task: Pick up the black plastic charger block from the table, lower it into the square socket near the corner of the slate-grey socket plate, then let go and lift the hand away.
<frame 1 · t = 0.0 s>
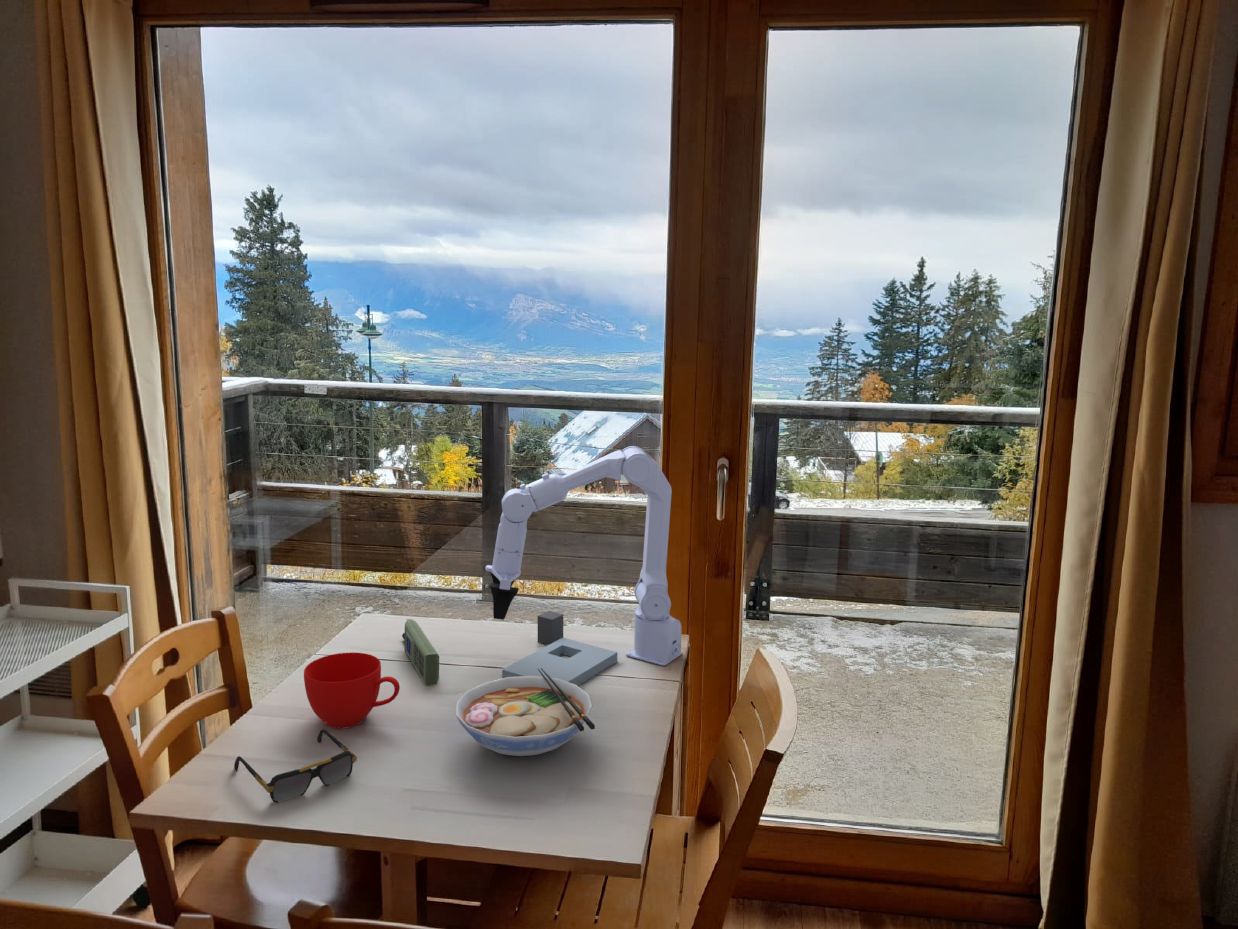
hand: (498, 612, 183), 11 cm above the table, tool pointing down, fingers open, 7 cm apart
socket plate: (561, 669, 181), on the table
sunglasses: (297, 776, 141), on the table
charger block: (550, 641, 196), on the table
handheld radio: (417, 663, 184), on the table
ceramic cup: (355, 722, 158), on the table
ramen bowl: (524, 746, 151), on the table
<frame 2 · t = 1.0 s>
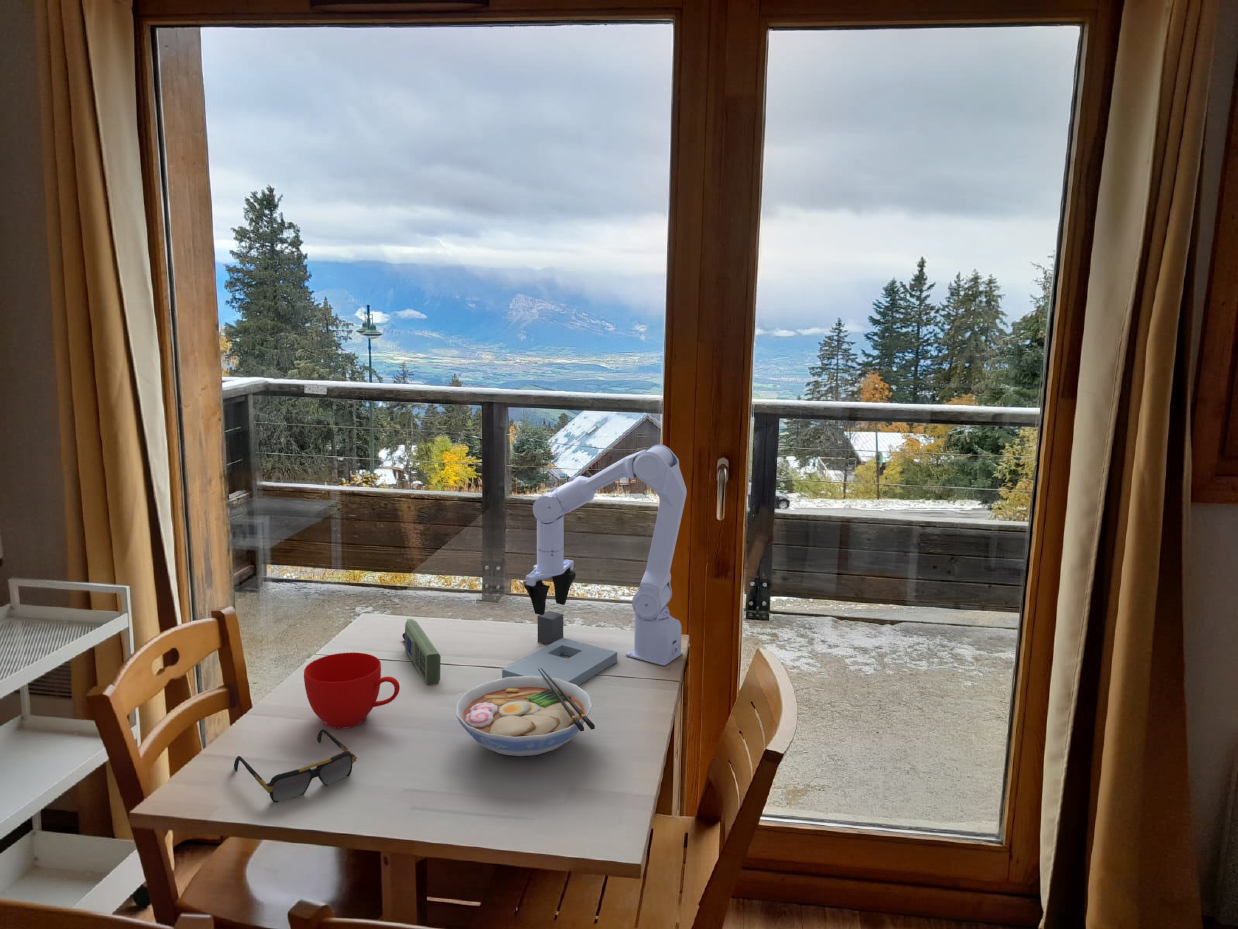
hand: (550, 608, 194), 7 cm above the table, tool pointing down, fingers open, 7 cm apart
nothing on the table moved.
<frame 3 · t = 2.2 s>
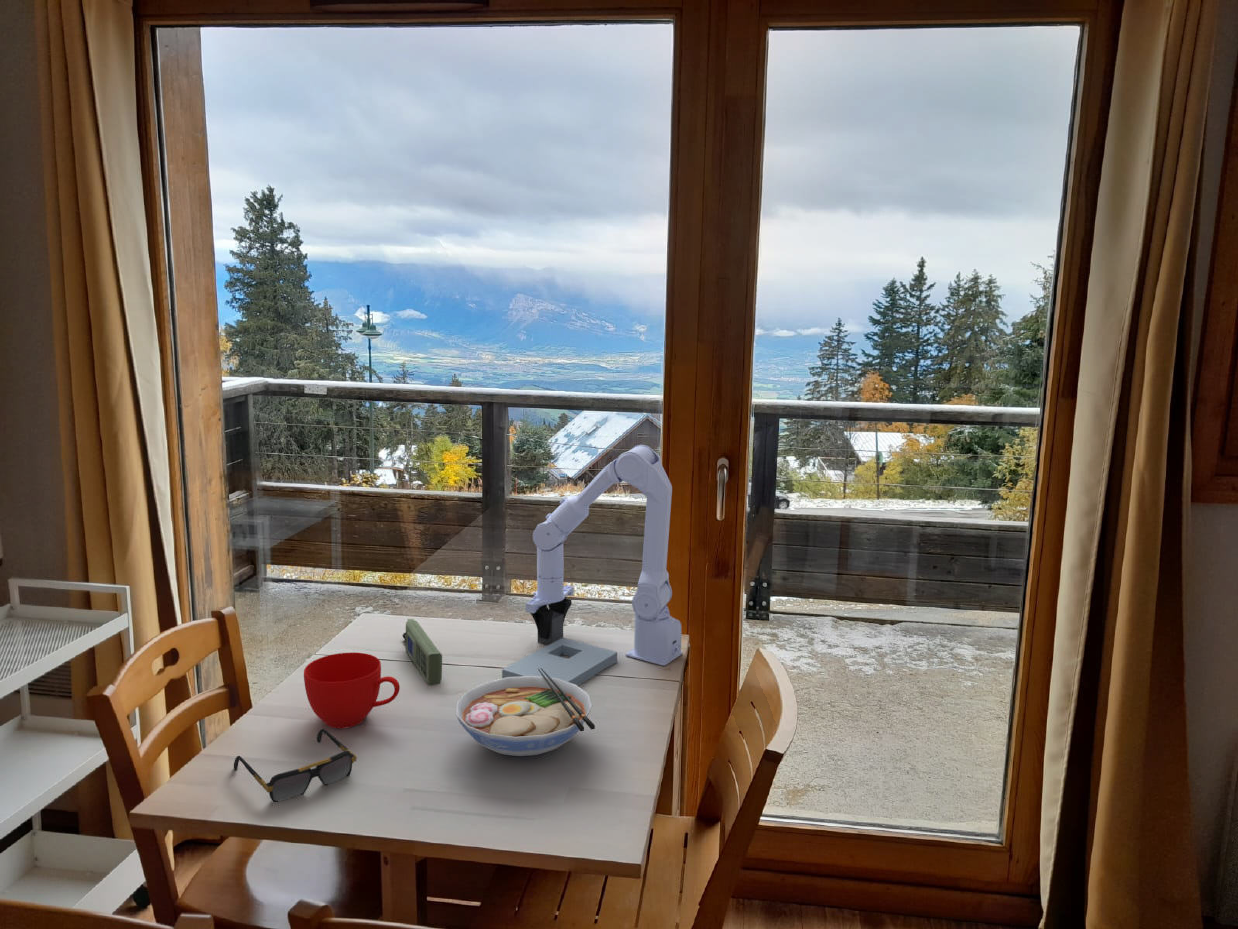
hand: (550, 634, 195), 1 cm above the table, tool pointing down, fingers closed on charger block, 4 cm apart
charger block: (550, 641, 196), on the table, touching gripper
everything else where it was.
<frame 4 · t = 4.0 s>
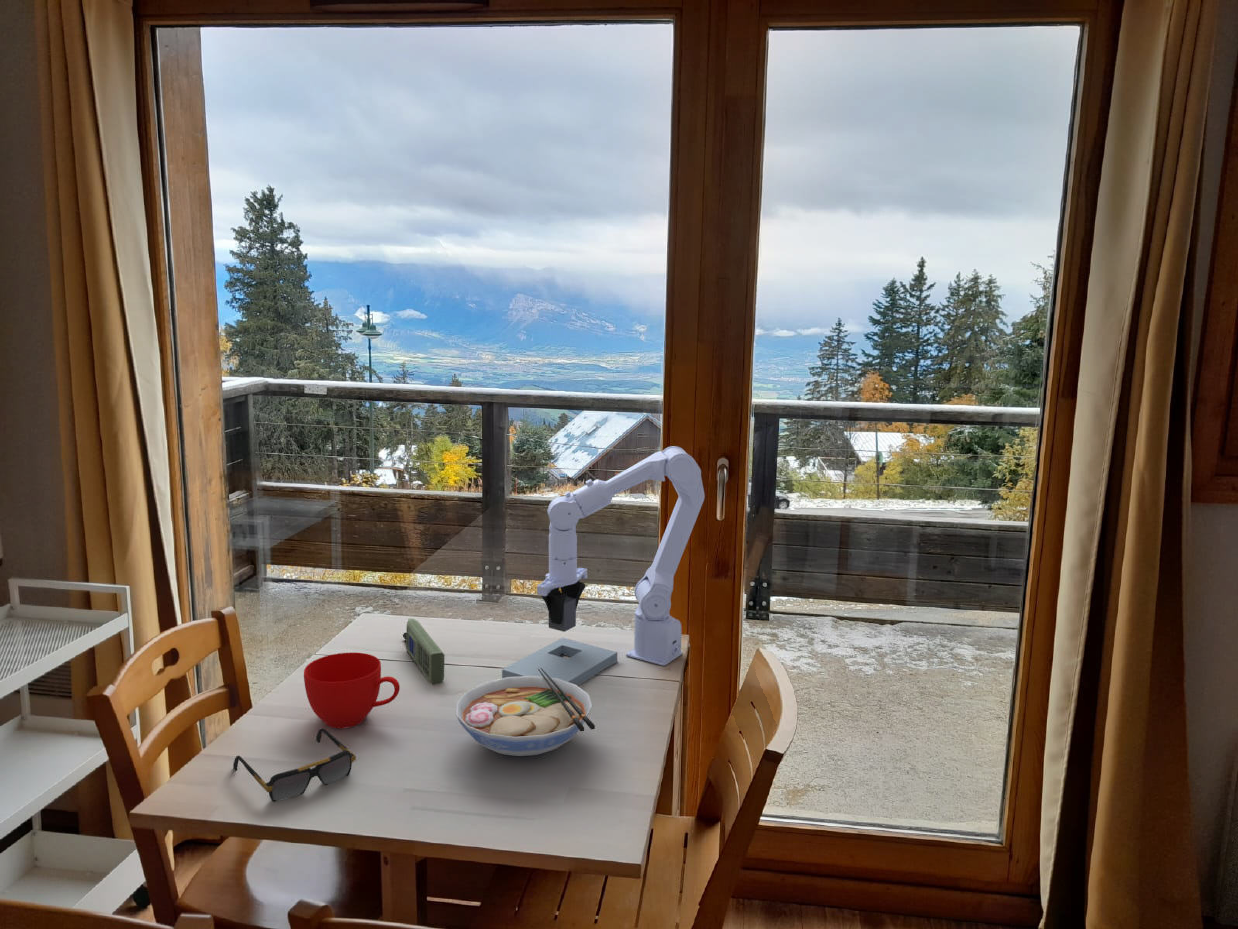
hand: (562, 619, 185), 8 cm above the table, tool pointing down, fingers closed on charger block, 4 cm apart
charger block: (562, 626, 185), point 7 cm above the table, touching gripper
everything else where it was.
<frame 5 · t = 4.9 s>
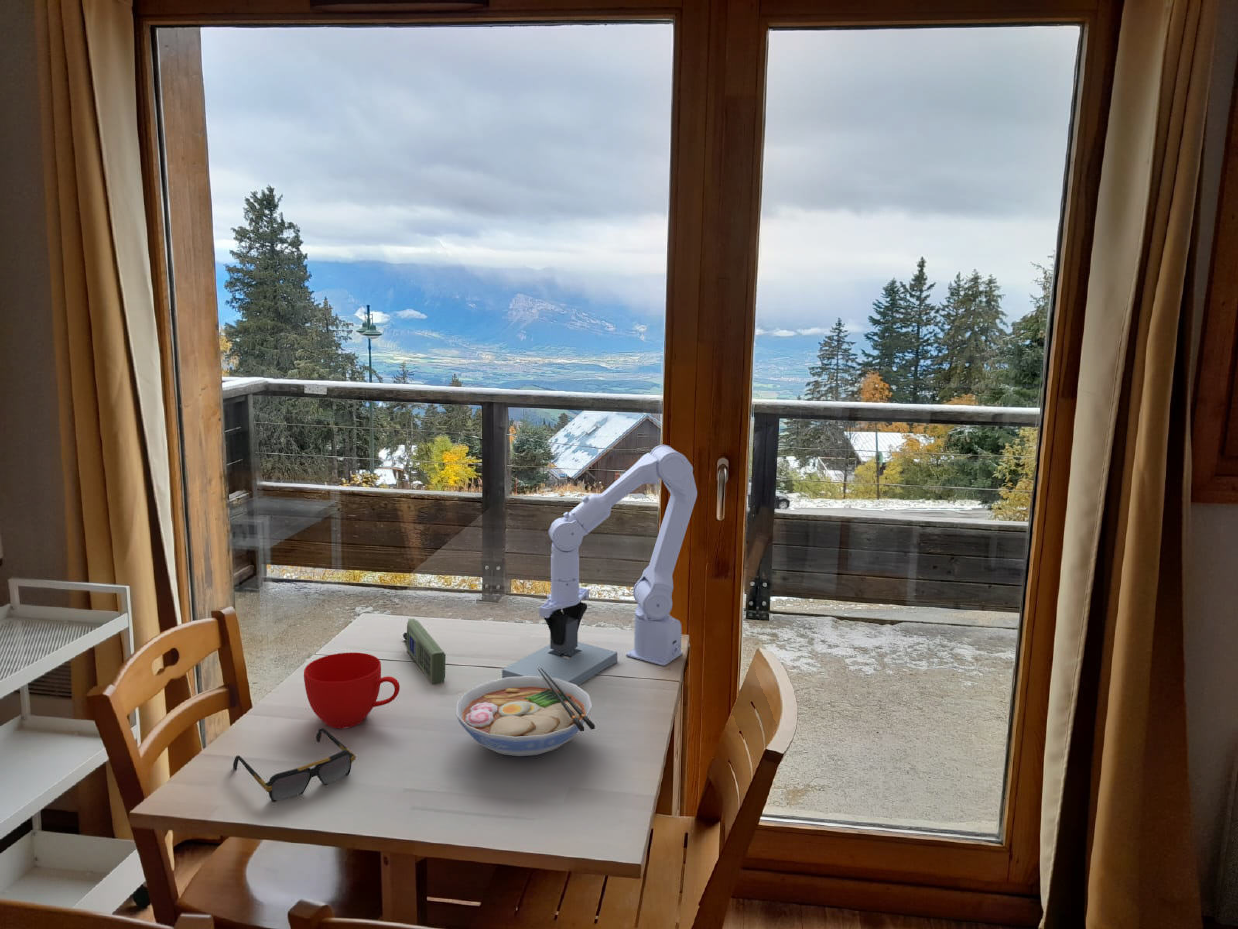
hand: (564, 640, 184), 4 cm above the table, tool pointing down, fingers closed on charger block, 4 cm apart
charger block: (564, 647, 185), point 3 cm above the table, touching gripper
everything else where it was.
when the fingers open (3 cm above the table, at t = 5.7 s): charger block drops 1 cm, resting in socket plate.
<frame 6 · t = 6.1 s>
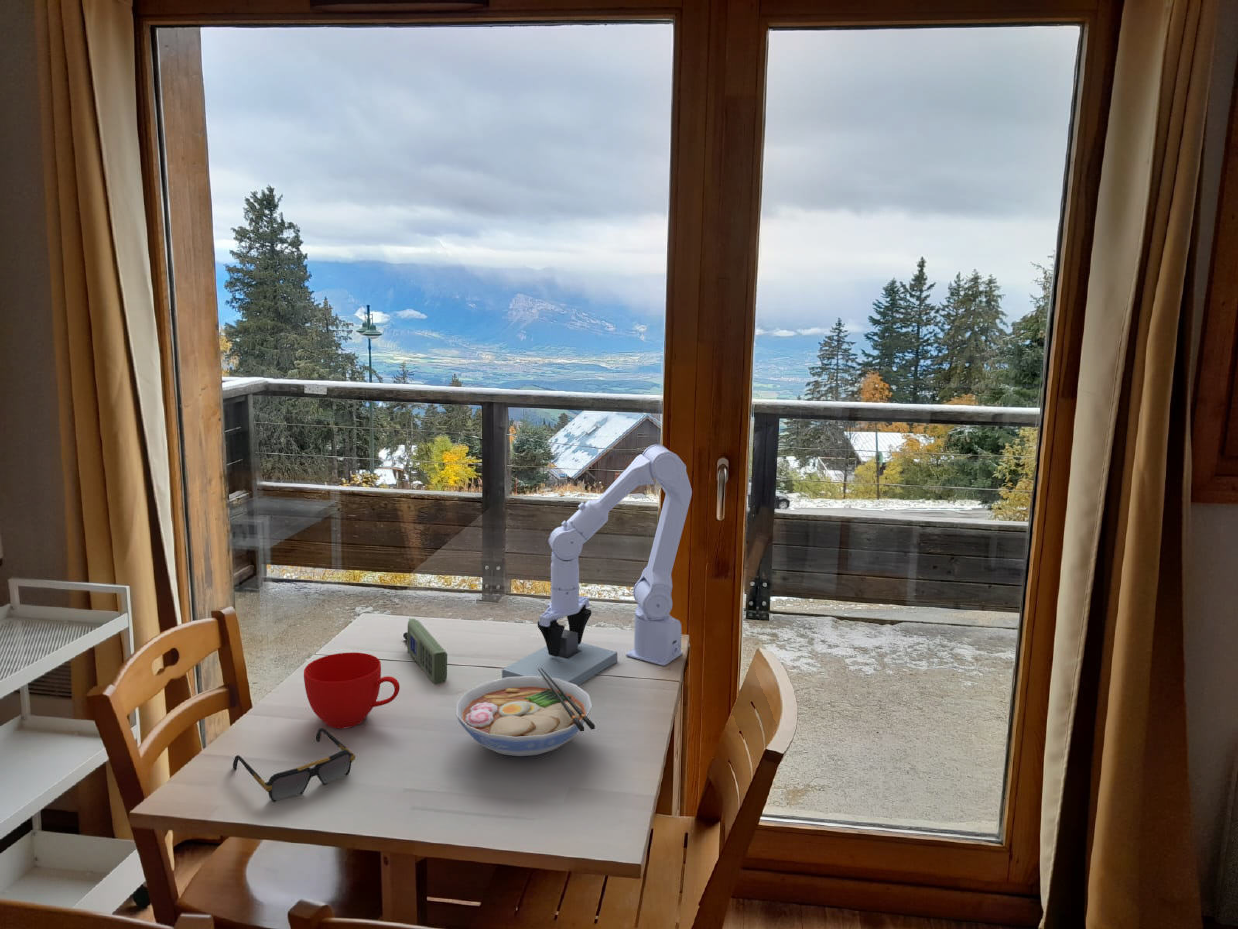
hand: (564, 649, 185), 3 cm above the table, tool pointing down, fingers open, 7 cm apart
charger block: (564, 661, 185), resting in socket plate
everything else where it was.
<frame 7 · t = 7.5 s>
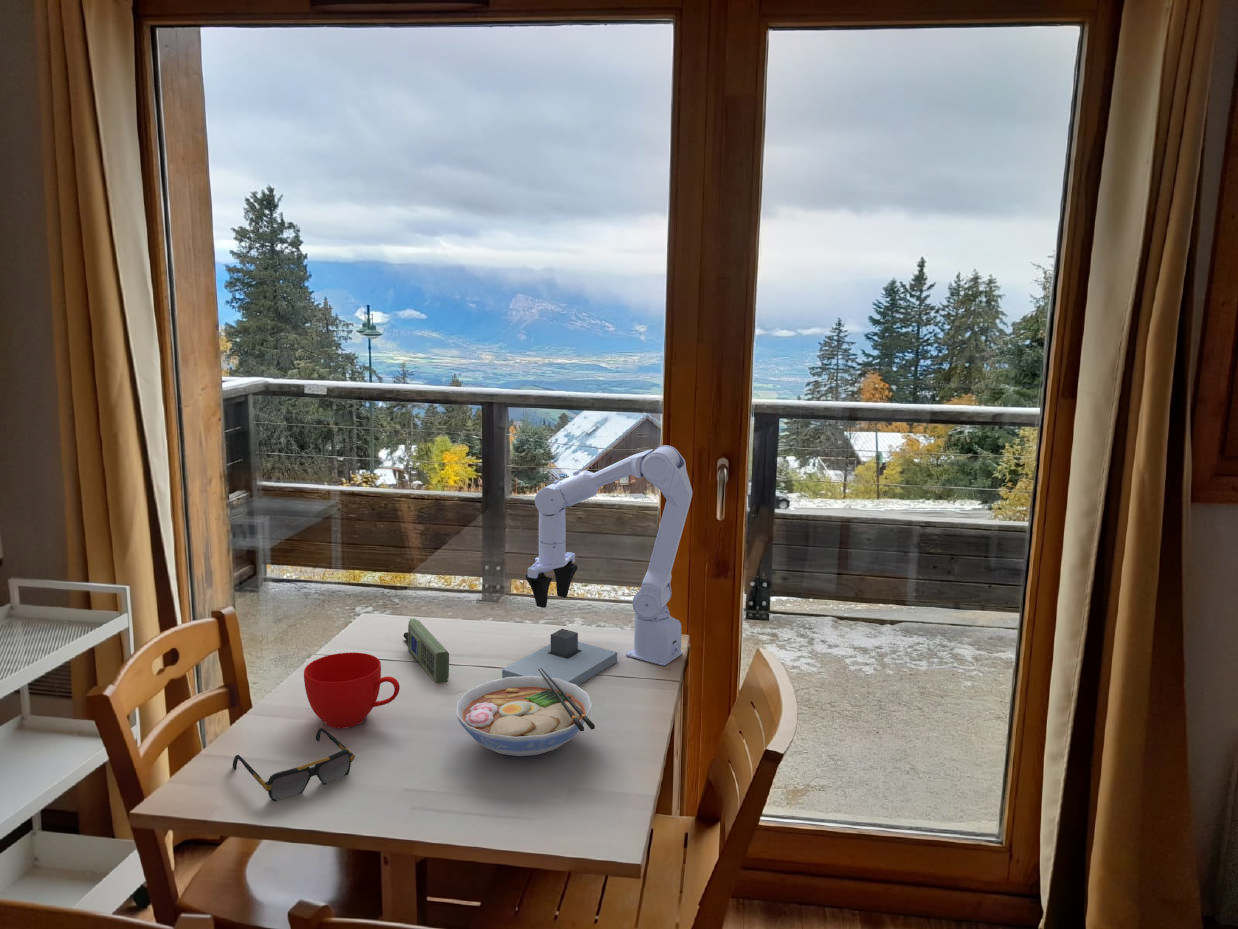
hand: (552, 601, 193), 9 cm above the table, tool pointing down, fingers open, 7 cm apart
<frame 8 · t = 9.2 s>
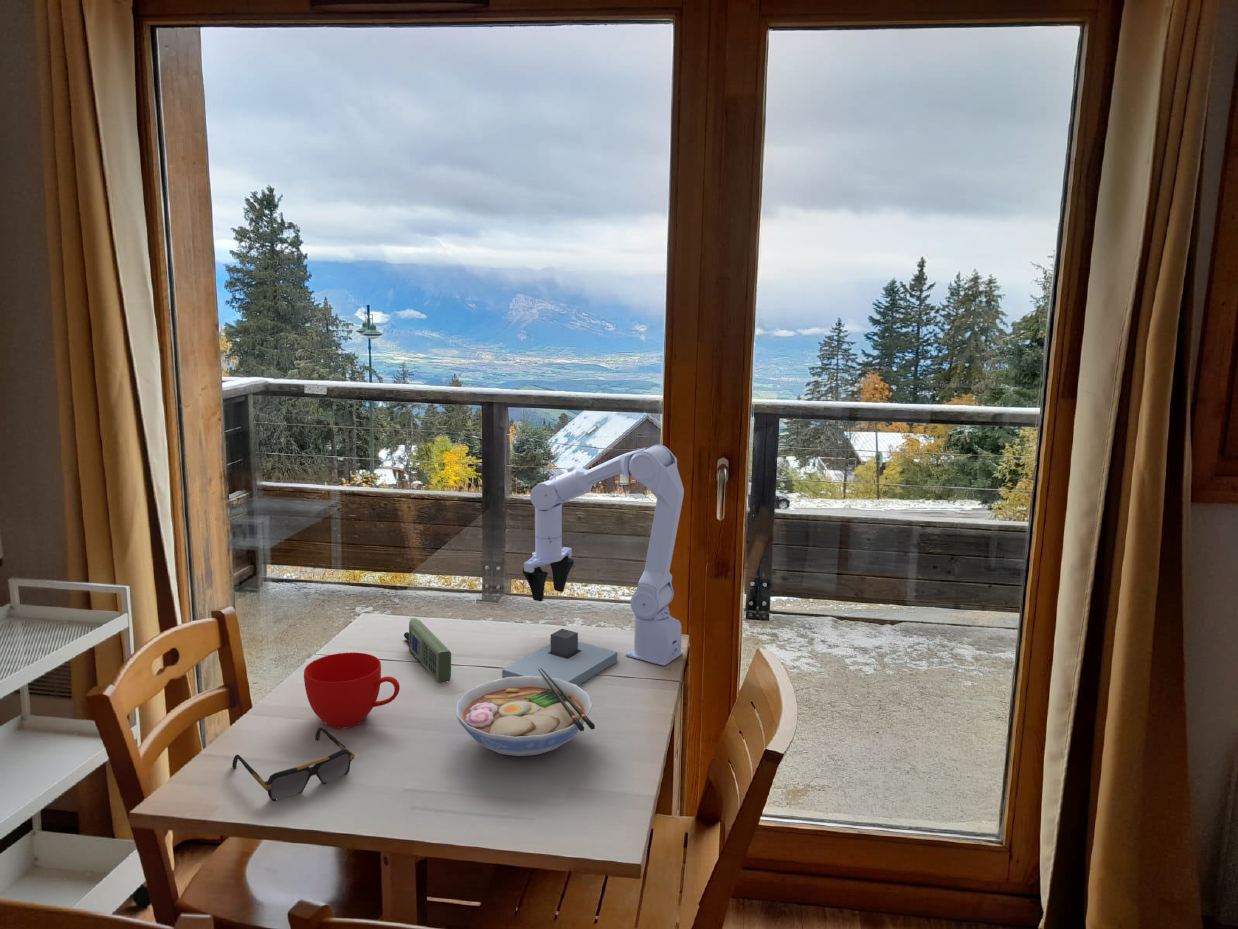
hand: (548, 595, 197), 9 cm above the table, tool pointing down, fingers open, 7 cm apart
at the end: charger block 0.2 cm from the target spot on the socket plate, point 0.0 cm above the socket plate's base; charger block tilted 0°; the gripper is holding nothing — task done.
